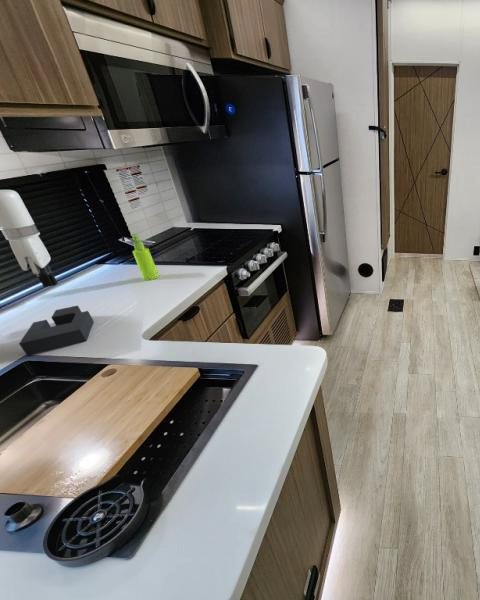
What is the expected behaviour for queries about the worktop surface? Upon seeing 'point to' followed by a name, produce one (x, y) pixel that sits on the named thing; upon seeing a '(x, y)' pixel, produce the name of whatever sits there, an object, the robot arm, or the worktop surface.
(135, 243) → the soap dispenser
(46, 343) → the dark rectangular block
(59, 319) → the dark grey squat block
